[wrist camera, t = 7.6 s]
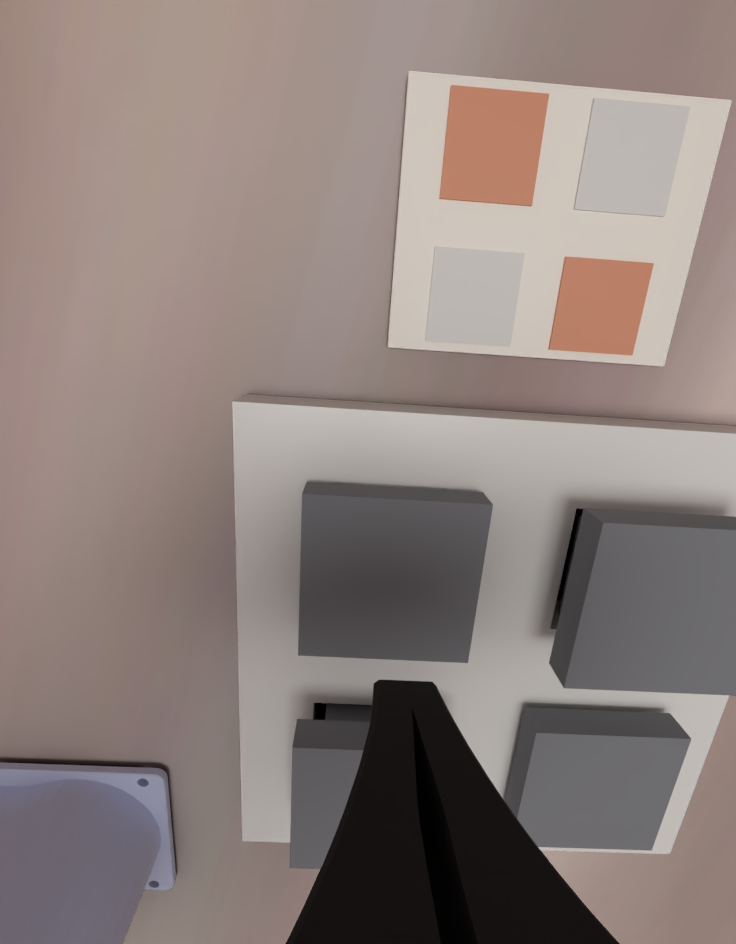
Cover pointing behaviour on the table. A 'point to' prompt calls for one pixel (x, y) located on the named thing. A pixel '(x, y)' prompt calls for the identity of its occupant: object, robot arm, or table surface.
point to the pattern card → (547, 217)
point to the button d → (649, 604)
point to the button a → (323, 778)
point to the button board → (503, 578)
